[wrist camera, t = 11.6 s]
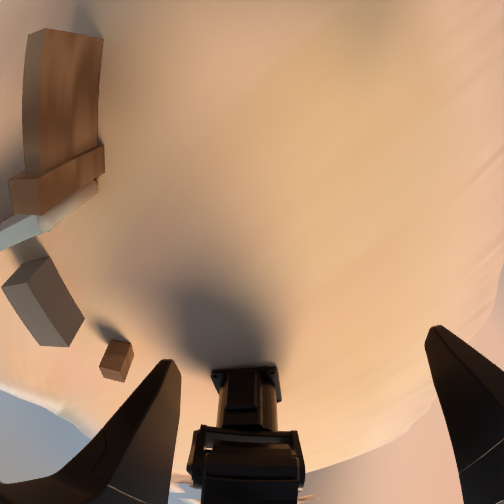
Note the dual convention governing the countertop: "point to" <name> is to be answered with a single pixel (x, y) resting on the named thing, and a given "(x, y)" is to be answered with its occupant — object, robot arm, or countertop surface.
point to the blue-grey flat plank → (42, 218)
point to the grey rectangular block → (44, 303)
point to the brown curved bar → (62, 137)
